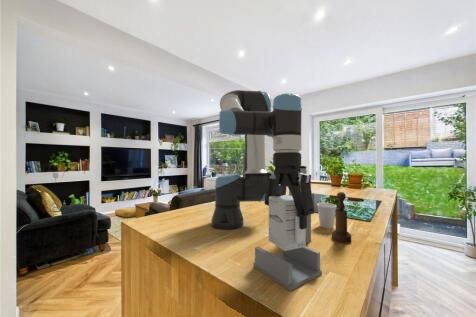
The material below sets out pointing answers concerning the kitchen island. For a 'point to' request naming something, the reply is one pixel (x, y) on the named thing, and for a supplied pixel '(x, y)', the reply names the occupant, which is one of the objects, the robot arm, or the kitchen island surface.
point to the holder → (289, 266)
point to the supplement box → (283, 223)
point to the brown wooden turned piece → (341, 222)
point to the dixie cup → (326, 214)
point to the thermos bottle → (308, 229)
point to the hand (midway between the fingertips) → (286, 235)
